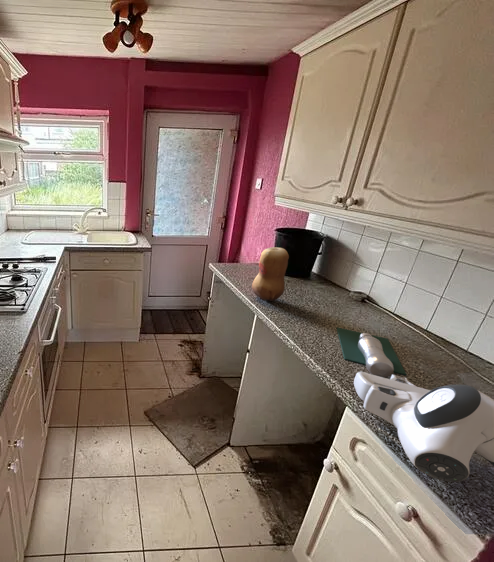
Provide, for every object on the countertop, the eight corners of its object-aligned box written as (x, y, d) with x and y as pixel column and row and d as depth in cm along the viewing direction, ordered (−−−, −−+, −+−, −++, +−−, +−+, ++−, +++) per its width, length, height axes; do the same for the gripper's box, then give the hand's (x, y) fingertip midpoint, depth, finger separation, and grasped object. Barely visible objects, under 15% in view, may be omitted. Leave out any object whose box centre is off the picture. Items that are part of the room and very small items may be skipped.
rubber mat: (406, 375, 96) (406, 374, 96) (344, 359, 103) (344, 358, 102) (387, 339, 116) (387, 338, 115) (336, 328, 122) (336, 327, 122)
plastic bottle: (363, 365, 94) (350, 332, 110) (374, 383, 94) (359, 348, 111) (389, 359, 90) (371, 326, 107) (400, 377, 91) (381, 342, 107)
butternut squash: (244, 294, 151) (254, 244, 142) (269, 293, 154) (280, 243, 145) (261, 306, 139) (273, 252, 129) (288, 305, 141) (301, 252, 132)
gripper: (484, 420, 64) (456, 382, 76) (364, 385, 73) (355, 356, 85) (471, 442, 67) (445, 402, 78) (356, 406, 76) (348, 375, 87)
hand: (398, 378), depth 81 cm, fingers closed
